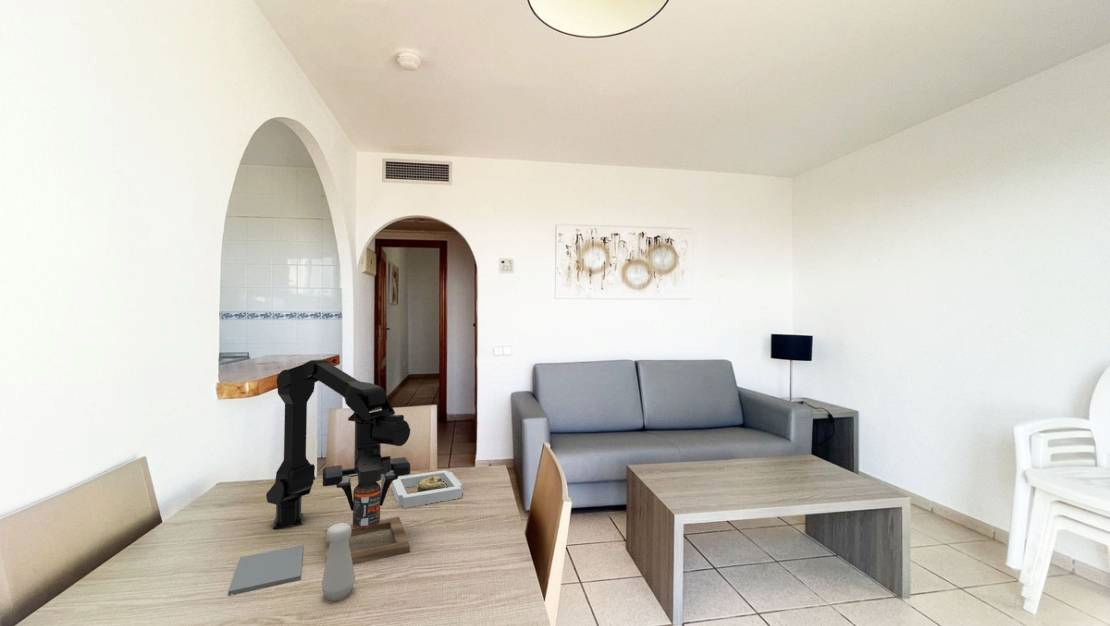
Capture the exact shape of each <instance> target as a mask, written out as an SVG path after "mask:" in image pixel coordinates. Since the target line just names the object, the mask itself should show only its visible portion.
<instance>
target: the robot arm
mask: <svg viewBox="0 0 1110 626" xmlns="http://www.w3.org/2000/svg"><path fill="white" fill-rule="evenodd" d="M317 382H319V383H322V384H323V385H325V386H326V387H328V388H329V389H331V390H332V391H333V392H335V393H336V394H339V395H340V396H341V397H343V399H344V403H345V404H346V406H347V407H348V408H349V409H350V410H352V412H353V413H352V414H351V415H350V416H349V417H348V419H347V420H348V421H349V422H354V448H353V449H354V454H353V455H354V458H353V459H354V460H353V461H354V463H353V467H352V468H346V469H345V468H344V469H343V467H342V466H343V465H342V464H339V465H331V466H325V467H324V468H323V469H322V487H333V486H336V488H337V489H342V491H343V492H344V494H345V497H346V499H347V502H348V505H349V509H350V510H351V512H353V493H352V492H353V490H352V483H351V478H353V477H357V483H358V482H359V483H366V482H371V481H375V482H379V481H381V482H380V487H381V497H380V507H382V506H383V504H384V502H385V500H386V495H387V493H388V490H389V489H390V487H391V485H392V482H393V480H396V479H398V477H401V476H408V475H411V463H410V461H409V460H408V459H407V457H405V456H403V457H396V458H391V455H388V456H387V455H386V456H382V455H381V450H382V447H381V446H382V445H389V446H395V447H403V446H404V445H405V444H406V443H407V442H408V441H409V437H410V435H411V427H410V425H409V422H407V420H405V416H404V414H396V411H395V410H394V408H393V407H394V406H392V404H391V402H390V400H389V397H388V396H387V394H386V391H385V389H384V388H383V387H381V386H380V385H377V384H374V383H371V382H365V381H360V380H358V379H356V378H355V377H353V376H352V375H349V374H348V373H347V372H344V371H343V370H342V369H340V368H338V367H336V366H335V365H333V364H332V363H331V362H330V361H329V360H327V359H325V358H323V359H312V360H309V361H306V362H305V363H303V364H300V365H298V366H294V367H292V368H288V369H283V370H282V371H280V373H279V374H277V377H276V388H277V395H278V396H279V397H280V399H281V400H282V402H283V403H284V425H283V428H284V430H283V431H284V432H283V434H284V436H283V460H282V462H281V464H280V466H279V468H278V469H277V471H276V472H275V473H276V474H275V478H274V479H275V480H274V484H273V485H272V486H271V487H270V488H269V490H268V491H267V492H266V494H265V495H266V496H265V497H266V501H267V503H269V504H273V505H275V517H274V521H273V524H272V529H273V530H277V529H282V528H289V527H293V526H299V525H303V523H304V522H303V521H304V512H302V505H303V504H302V497H304V496H306V495H310V494H311V490H312V488H313V487H312V486H314V481H315V480H316V477H315V469H316V466H315V464H313V463H312V464H311V463H310V461H309V460H308V458H307V428H308V427H307V426H308V425H307V422H308V421H307V420H308V419H307V418H308V417H307V416H308V401H309V400H310V398H311V397H312V395H313V393H314V391H315V385H316V383H317Z"/></svg>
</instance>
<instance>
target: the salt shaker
mask: <svg viewBox="0 0 1110 626" xmlns="http://www.w3.org/2000/svg"><path fill="white" fill-rule="evenodd" d="M350 525H351V524H349V523H346V522H340V523H339V522H338V523H336V524H332V525H331V526H329V528H327V529H328V530H327V529H326V530H327V541H329V542H330V546H329V551H328V556H327V561H326V560H325V564H324V565H325V567H324V571H323V576H322V581H321V590H322V593H323V595H324V597H325V599H326V600H329V601H332V602H336V601H340V600H343V599H346V597H347V596H349V594H350V593H351V592H352V589H353V587H354V585H355V581H356V576H355V571H354V570H355V569H354V564H352V558H351V548H350V543H349V538H351V536H352V535H351V526H350Z"/></svg>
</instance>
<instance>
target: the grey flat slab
mask: <svg viewBox="0 0 1110 626" xmlns="http://www.w3.org/2000/svg"><path fill="white" fill-rule="evenodd" d="M303 558H304V544H301V545H296V546H291V547H285V548H280V549H276V550H271V551H270V550H269V551H265V552H258V553H255V554H249V555H244V556H240V557H239V560H238V563H237V565H236V568H235V571H234V573H233V576H232V579H231V583H230V584H229V587H228V590H227V596H228V595H229V596H232V595H231V594H233V595H238V594H243V593H246V592H251V591H256V590H260V589H264V588H269V587H273V586H274V587H275V586H278V585H282V584H286V583H291V582H296V581H300V580H302V569H303ZM242 592H243V593H242ZM237 593H238V594H237Z"/></svg>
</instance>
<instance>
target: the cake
mask: <svg viewBox="0 0 1110 626" xmlns="http://www.w3.org/2000/svg"><path fill="white" fill-rule="evenodd" d="M445 486H446V484H445V483H444V482H442V479H441V477H436V476H435V477H434V476H433V475H432V477H429V478H427V479H423V480H421V481H420V482H419V484H418V486H417V491H416V492H415V493H417V492H423V491H429V490H436V489H442V488H445Z"/></svg>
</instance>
